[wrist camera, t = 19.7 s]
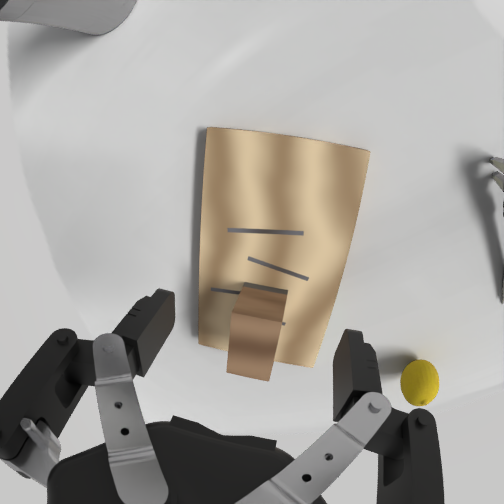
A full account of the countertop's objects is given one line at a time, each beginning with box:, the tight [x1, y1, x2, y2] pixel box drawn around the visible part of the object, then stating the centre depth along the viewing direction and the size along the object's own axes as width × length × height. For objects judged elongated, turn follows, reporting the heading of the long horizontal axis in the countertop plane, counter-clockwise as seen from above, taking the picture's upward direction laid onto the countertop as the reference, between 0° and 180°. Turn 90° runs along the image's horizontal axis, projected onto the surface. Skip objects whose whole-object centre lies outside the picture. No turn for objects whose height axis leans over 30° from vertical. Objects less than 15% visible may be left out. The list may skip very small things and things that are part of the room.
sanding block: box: [227, 282, 288, 381], centre depth 33 cm, size 9×5×6 cm, turn 173°
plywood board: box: [198, 127, 370, 368], centre depth 33 cm, size 16×28×2 cm, turn 174°
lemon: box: [400, 360, 439, 406], centre depth 33 cm, size 6×6×8 cm
